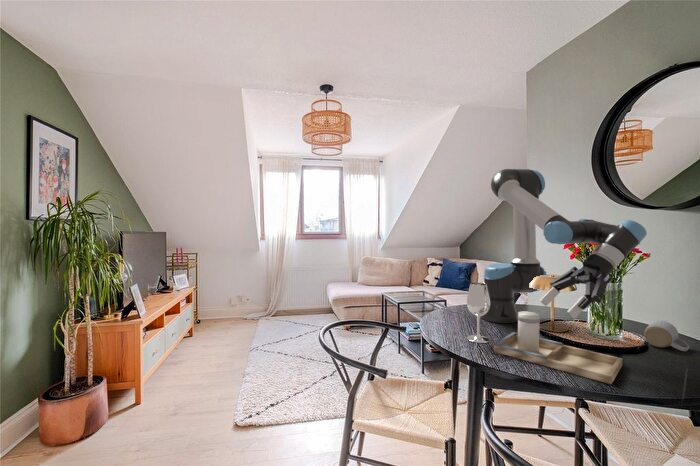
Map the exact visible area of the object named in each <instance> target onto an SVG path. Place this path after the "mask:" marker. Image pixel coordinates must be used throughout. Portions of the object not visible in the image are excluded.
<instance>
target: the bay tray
mask: <svg viewBox="0 0 700 466" xmlns="http://www.w3.org/2000/svg"><path fill="white" fill-rule="evenodd" d="M493 354H496V355H499V354H500V355H505V356H509V357H512V358H516V359H519V360H522V361H527V362H529V363H533V364H537V365H540V366H544V367H548V368H551V369H555V370H559V371H563V372H565V373H568V374H569V373H570V374H573V375H577V376H580V377H584V378H586V379H591V380H594V381H598V382H602V383H605V384H608V385H613V382H614V381H615V379H616V377H617V376H618V373H620V370H621V369H622V367H623V358H622V357H618V356H613V355H610V354H605V353H601V352H595V351H593V350H592V351H591V350H589V349H583V348H578V347H574V346H570V345H565V344H563V342H559V341H554V340H551V339H546V338H542V337H539V354H536V353H532V352H529V351H525V350H521V349H518V332H515V331H513V332H510V333H509V334H508V335H506V336H504V337H503V338H501V339H499V340H497V341H496V342H494V343H493Z"/></svg>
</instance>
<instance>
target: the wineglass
mask: <svg viewBox="0 0 700 466" xmlns="http://www.w3.org/2000/svg"><path fill="white" fill-rule="evenodd" d="M466 306H467V309H468V310H469V312H470V313H471V314H472V315H473V316H476V323H477V324H476V325H477V326H476V327H477V328H476V329H477V330H476V332H477V333H476V334H470V335H468V336H467V338H466V340H468V341H470V342H472V343H475V344H476V343H477V344H486V343H487V344H488V343H489V342H490V340H491V339H490V337H489V338H488V337H486V336H483V335H481V334H480V322H481V321H480V319H481V317H480V316H482V315H485V314H486V313H487V312H488V311H489V309H490V297H489V291H488V287H487V284H485V283H484V282H471V283H470V284H469V288H468V292H467V298H466Z"/></svg>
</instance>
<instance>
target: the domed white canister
mask: <svg viewBox="0 0 700 466" xmlns="http://www.w3.org/2000/svg"><path fill="white" fill-rule="evenodd" d="M517 314H518V321H517V333H518V349H521V350H525V351H529V352H532V353H536V354H539V338H540V323H541V320H540V319H541V318H540V314H539V313H538V312H534V311H527V310H526V311H525V310H524V311H517Z"/></svg>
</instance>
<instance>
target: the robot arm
mask: <svg viewBox="0 0 700 466" xmlns="http://www.w3.org/2000/svg"><path fill="white" fill-rule="evenodd" d="M545 187H546V180H545V177H544V176H543V174H542V173H541V172H539V171H538V170H534V169H529V168H526V169H522V168H518V169H517V168H504V169H501V170H499V171H497V172H496V173H495V174H494V175H493V177H492V178H491V182H490V189H491V191H492V193H493V194H494V195H495V196H496V197H497V198H498V199H499V200H500V201H504V202H505V201H506V202H507V203H509V205H511V206H512V210H513V212H512V214H513V215H512V216H513V255H514V256H513V257H514V258H513V259H512V260H510V263H508V262H503V263H502V262H501V263H492V264H487V265H486V266H485V268H484V271H483V283H485V284H487V287H488V291H489V297H490V309H489V311H488V312H487V313H486V314H485V315H482V316H480V319H482V320H485V321H487V322H491V323H497V324H512V323H518V310H517V309H516V306H515V301H514V300H515V299H514V296H515V295H514V294H520V293H521V294H522V293H523V294H524V293H529V294H530V293H534V292H538V291H540V290H537V289H533V288H529V283H530V282H531V281H532V280H533V278H534V277H536V276H540V275H547V276H548V274H547V271H546V270H545V268H544V267H543V266H541V261H539V260H538V259H537V246H536V245H537V244H536V243H537V241H536V237H537V236H536V235H537V234H536V226H537V227H538V228H540V229H541V230H542V233H543V236H544V238H545V241H547V242H548V243H551V244H556V245H570V244H595V245H598V246H597V247H596V248H594V250H592V252H591V254H589V255H588V256H587V257H586V258H585V259H584V260H583V261H582V263H583V264H582V267H581V268H580V269H579V268H577V266H573V267H572V268H571V269H570V270H568V271H567V272H565V273H564V274H561V275H560V276H558V277H557V278H555V279H554V280H552V281H550V282H549V285H550V286H551V288H549V290H547V292H546V293H545V294H544V295H543V296H542V297H541V298H540V299H539V300H538V301H539V302H540V303H541V304H542V305H543V306H544V307H548V306H549V304H550V303H551V302H552V301H553V300H554V299H555V298H556V297H557V296H558V295H559V294H560V291H561V290H565V289H566V288H570V287H571V286H574V285H580V284H581V285H585V294H584V293H583V295H581V297H580V298H579V299H578V300H576V301H575V303H574V304H573V305H572V306H571V307H570V308H569V309H568V310H567V312H566V313H568V314H569V315H570V316H571V317H572V318H573V319H576V318H577V317H578V316H579V315H580V314H581V313H582V311H584V310H586V309H587V308H588V307H589V306H590V305H591V304H592V303H593V304H594V303H595V302H596V303H599V304H600V303H601V302H602V300H603V297H604V295H605V291H606V289H607V286H608V284H609V283H610V281H611V280H612V278H611V277H610V276H609V275H610V274H611V273H612V272H613V271H614V269H615V268H617V267H618V266H619V264H621V262H622V261H624V260H625V258H626V257H627V256H628V255H629V254H630V253H631V252H632V251H633V250H634V249H636V247H638V246H639V245H641V242H642V241H643V240H644V239H645V237H646V236H647V233H648V232H647V230H646V228H645V227H644V226H643V225H642V224H641V223H639V222H638V221H634V220H632V219H625V220H622V221H621V222H620V223H618V225H616V224H610V223H606V222H602V221H598V220H597V221H596V220H594V219H587V218H581V219H579V220H578V221H577V220H575V221H572V220H571V221H570V220H568V219H567V218H565V217H564V216H563V215H561V214H559V213H558V212H557V211H555V210H554V209H552V208H551V207H550V206H549V205H547V204H545V203H544V202H543V201H542V200H540V195H542V194H543V192H544V190H545Z"/></svg>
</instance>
